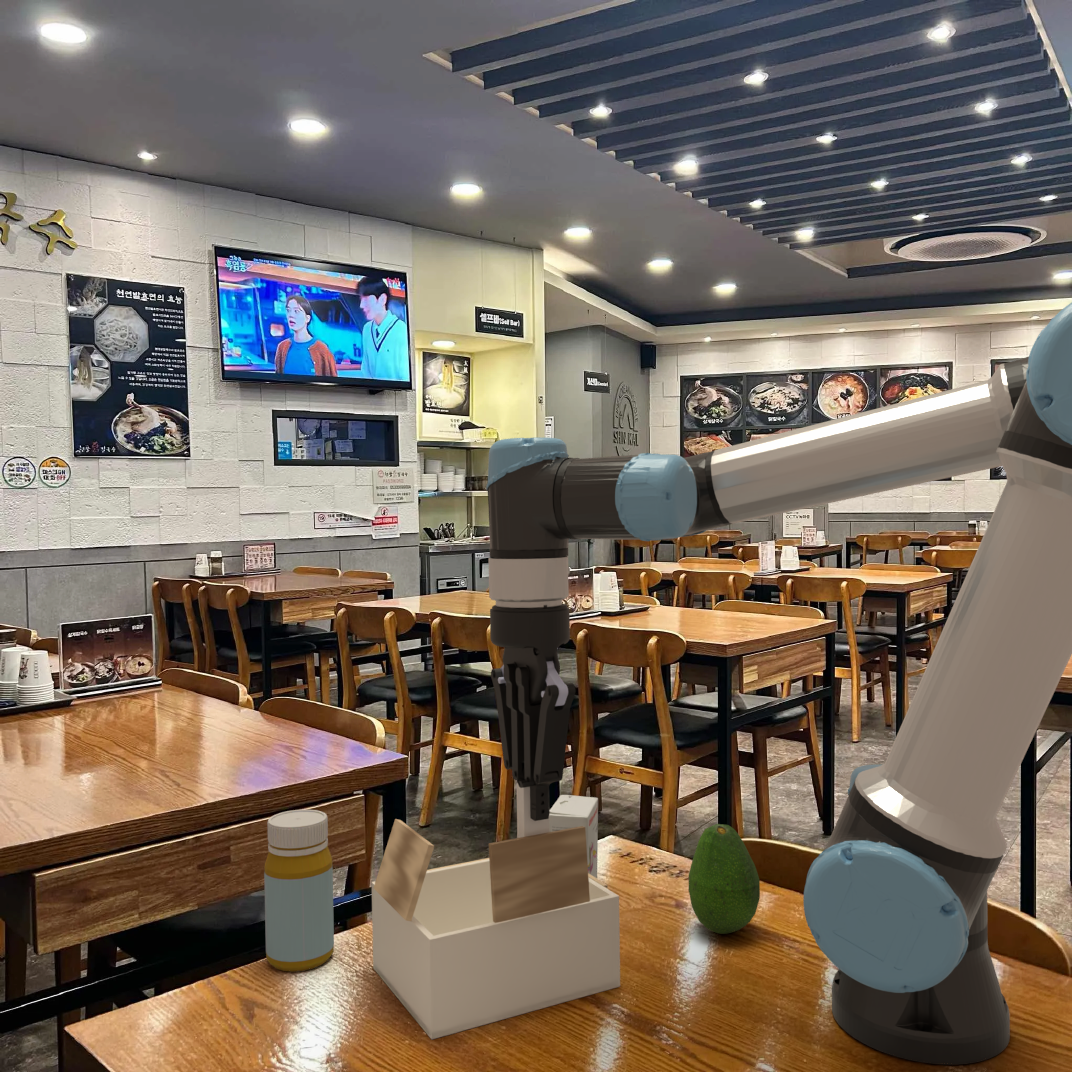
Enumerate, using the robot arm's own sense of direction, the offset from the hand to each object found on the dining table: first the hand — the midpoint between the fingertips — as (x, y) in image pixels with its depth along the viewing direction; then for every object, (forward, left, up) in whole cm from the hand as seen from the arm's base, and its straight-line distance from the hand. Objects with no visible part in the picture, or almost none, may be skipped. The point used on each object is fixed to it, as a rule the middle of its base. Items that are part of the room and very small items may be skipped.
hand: (533, 850), depth 94 cm
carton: (+7, +1, -15) cm, 16 cm away
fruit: (+4, -26, -15) cm, 30 cm away
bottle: (+21, +17, -15) cm, 31 cm away
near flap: (-2, 0, -6) cm, 6 cm away
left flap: (+7, +12, -6) cm, 15 cm away
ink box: (+20, -16, -15) cm, 30 cm away
